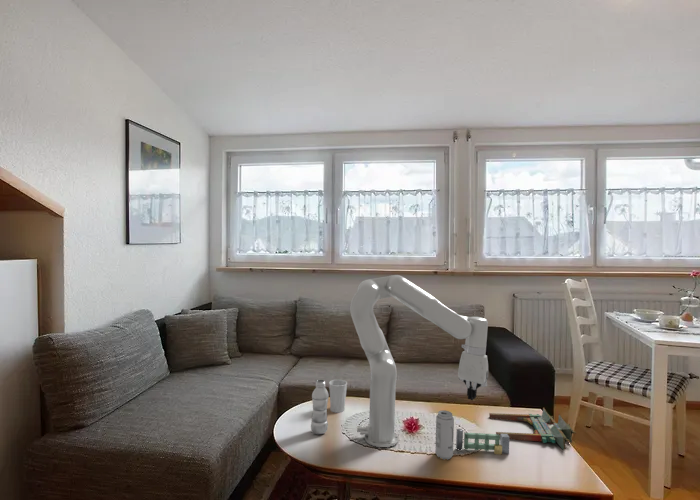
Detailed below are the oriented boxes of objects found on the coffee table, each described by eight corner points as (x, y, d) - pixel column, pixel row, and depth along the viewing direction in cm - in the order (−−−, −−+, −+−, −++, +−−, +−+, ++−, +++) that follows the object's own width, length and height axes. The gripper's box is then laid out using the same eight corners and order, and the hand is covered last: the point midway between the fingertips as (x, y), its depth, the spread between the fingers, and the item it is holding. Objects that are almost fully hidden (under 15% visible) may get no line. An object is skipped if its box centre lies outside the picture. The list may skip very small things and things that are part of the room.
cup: (338, 404, 181) (339, 378, 181) (350, 410, 175) (350, 383, 175) (324, 408, 176) (325, 381, 176) (335, 415, 170) (336, 387, 170)
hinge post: (456, 450, 143) (457, 431, 143) (455, 447, 145) (456, 428, 145) (462, 451, 143) (463, 431, 143) (461, 448, 145) (462, 428, 145)
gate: (464, 449, 143) (465, 434, 143) (463, 447, 144) (464, 432, 144) (499, 451, 142) (499, 435, 142) (498, 449, 143) (498, 434, 143)
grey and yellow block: (494, 454, 141) (495, 437, 141) (492, 449, 144) (492, 433, 144) (509, 455, 141) (510, 438, 141) (506, 450, 144) (507, 433, 144)
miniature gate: (487, 405, 176) (561, 408, 170) (488, 418, 176) (562, 420, 170) (497, 434, 150) (585, 437, 144) (498, 448, 150) (586, 453, 144)
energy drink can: (452, 461, 135) (453, 418, 135) (434, 458, 137) (435, 415, 137) (453, 452, 141) (454, 411, 141) (436, 450, 143) (437, 408, 143)
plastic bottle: (307, 432, 154) (308, 380, 154) (321, 427, 159) (322, 377, 158) (317, 438, 149) (318, 385, 149) (331, 433, 154) (332, 381, 154)
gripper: (452, 347, 151) (448, 395, 151) (491, 356, 142) (487, 407, 142) (460, 344, 157) (456, 390, 157) (498, 353, 148) (494, 402, 148)
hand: (471, 398), depth 149 cm, fingers closed
